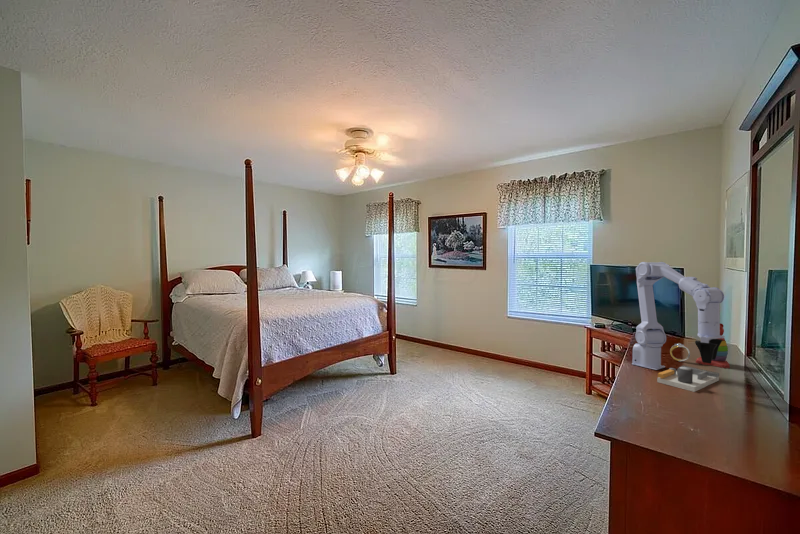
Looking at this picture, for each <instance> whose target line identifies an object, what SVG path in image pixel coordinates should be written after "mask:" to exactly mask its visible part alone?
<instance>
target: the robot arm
mask: <svg viewBox="0 0 800 534" xmlns="http://www.w3.org/2000/svg"><path fill="white" fill-rule="evenodd" d="M635 276H636V286H637V287H636V288H637V295H638V296H637V297H638V303H639V312H640V319H641V322H640V323H639V324H638V325H637V326H636V327H635V329H636V330H635V335H634V336H635V341H636V342H637V343H635V344H634V345H633V347H632V361H631V362H632V363H631V365H633V366H637V367H641V368H646V369H650V370H655V371H658V370H661V369H664V368H666V366H665V365H662V347H663V345H664V344H666V343H667V335H666V333H665V331H664V326H662V324H661V323H660V322H658V319H657V311H656V303H655V293H654V288H653V286H654V285H655V283H657V282H658V281H660V280H661V279H663V278H665V279H668V280H669V281H671V282H674V283H675V284H677V285H678V289H680V290H681V291H682V292H684V293H686V294H688V295H689V296H691V297H692V299H693V301H694V302H695V305H696V308H697V337H699V339H700V340H701V341H700V340H695V341H694V343H695V345H696V346H697V349H698V351H699V354H700V357H701V358H702V361H703V362H704V363H711V361H712V359H713V360H715V359H716V356H717V351H718V348H719V346H720V344H721V342H722V340H721V339H718V338H724V339H726V337H725V335H722V336H721V335H720V319H721V318H720V311H721V310H720V308H721V307H720V304H721V303H722V302H723V301H724V300H725V294H724V292H723V290H721V289H720V288H719V287H715V286H714V287H711V286H709V284H707V283H704V282H701V281H700V280H698V278H697V277H696V276H684V275H683V274H681V273H680V272H679V271H677V270H676V269H674V268H672V267H671V265H670V264H668V263H666V262H664V261H659V262H658V261H657V262H656V261H655V262H654V261H650V262H649V261H648V262H647V261H641V262H639V264H638V265H637V266H636V267H635Z"/></svg>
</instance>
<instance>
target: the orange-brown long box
mask: <svg viewBox="0 0 800 534" xmlns="http://www.w3.org/2000/svg"><path fill="white" fill-rule="evenodd" d="M676 371H677V368H674V367H669V368H668V369H666V370H663V371H660V372H658V373H657V378H658V377H660V378H665V377H668V376H670V375H673V374H676Z"/></svg>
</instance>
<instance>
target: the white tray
mask: <svg viewBox="0 0 800 534" xmlns="http://www.w3.org/2000/svg"><path fill="white" fill-rule="evenodd" d="M680 367H687V368H690V369H692V370H693V378H692V383H691V384H688V383H682V382H679V381H678V368H676V374H673V375H670V376H668V377H665V378H660V377H658V376H657V378H656V380H657V381H656V383H658V384H659V383H660V384H663V385H665V386H666V385H667V386H671V387H674V388H676V389H677V388H679V389H683V390H685V391H689V392H693V393H695V392H697V391H699V390H702V389H704V388H706V387H709V386H710V385H712V384H714V383H716V382H719V381H720V372H716V371H711V370H707V369H703V368H698V367H693V366H689V365H685V364H683V365H680Z"/></svg>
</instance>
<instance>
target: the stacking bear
mask: <svg viewBox="0 0 800 534" xmlns="http://www.w3.org/2000/svg"><path fill="white" fill-rule="evenodd" d="M724 333H725V329H724V324H723V323H720V335H721V336H724ZM718 339H721V340H722V342H721V344H720V346H719V348H718V351H717V356H716V359H715V360H713V359H712V361H711V363H704V362H703V361H702V358H701V356H699V357H697V358H696V360H695V363H697V364H698V365H702V366H703V365H704V366H712V367H717V368H721V369H730V368H731V366H730V363H729V362H728V361H727V357H728V352H729V347H728V344H727V340H726V338H718ZM699 341H701V339H700V340H699Z"/></svg>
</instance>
